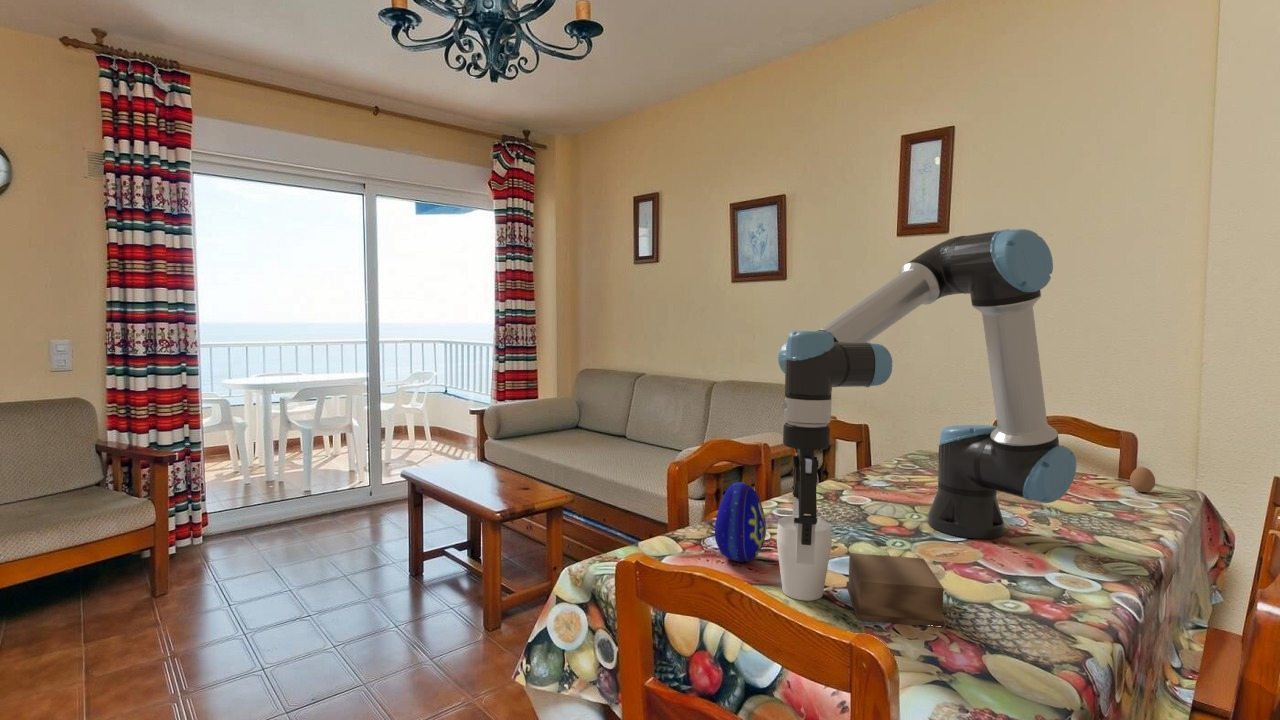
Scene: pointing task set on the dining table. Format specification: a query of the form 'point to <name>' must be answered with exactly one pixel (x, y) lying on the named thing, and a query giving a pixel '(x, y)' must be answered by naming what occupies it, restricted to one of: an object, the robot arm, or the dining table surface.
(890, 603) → the riser
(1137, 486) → the egg
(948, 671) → the dining table surface
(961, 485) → the robot arm
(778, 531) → the cup
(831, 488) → the dining table surface
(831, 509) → the dining table surface
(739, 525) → the ornament
